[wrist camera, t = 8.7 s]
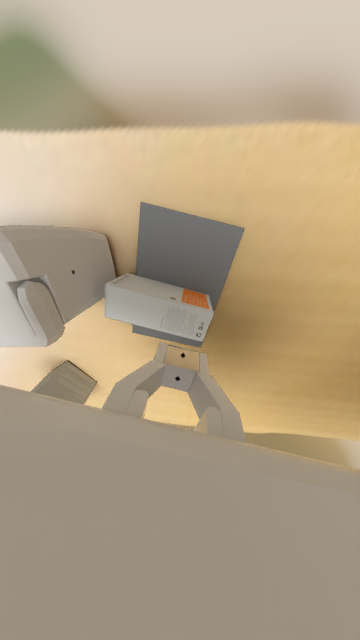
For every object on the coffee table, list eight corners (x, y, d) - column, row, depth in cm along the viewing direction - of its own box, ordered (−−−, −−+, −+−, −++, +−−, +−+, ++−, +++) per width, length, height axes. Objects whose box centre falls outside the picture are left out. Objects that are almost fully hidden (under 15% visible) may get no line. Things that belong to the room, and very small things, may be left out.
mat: (243, 228, 17) (244, 228, 17) (200, 345, 26) (200, 347, 26) (142, 203, 17) (140, 201, 16) (133, 330, 26) (132, 332, 25)
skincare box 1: (52, 369, 33) (-50, 465, 19) (71, 358, 31) (-30, 457, 17) (82, 391, 36) (13, 487, 22) (101, 382, 34) (38, 482, 20)
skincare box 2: (216, 312, 16) (103, 283, 15) (203, 343, 18) (103, 318, 17) (209, 293, 21) (126, 271, 20) (200, 319, 23) (124, 299, 22)
